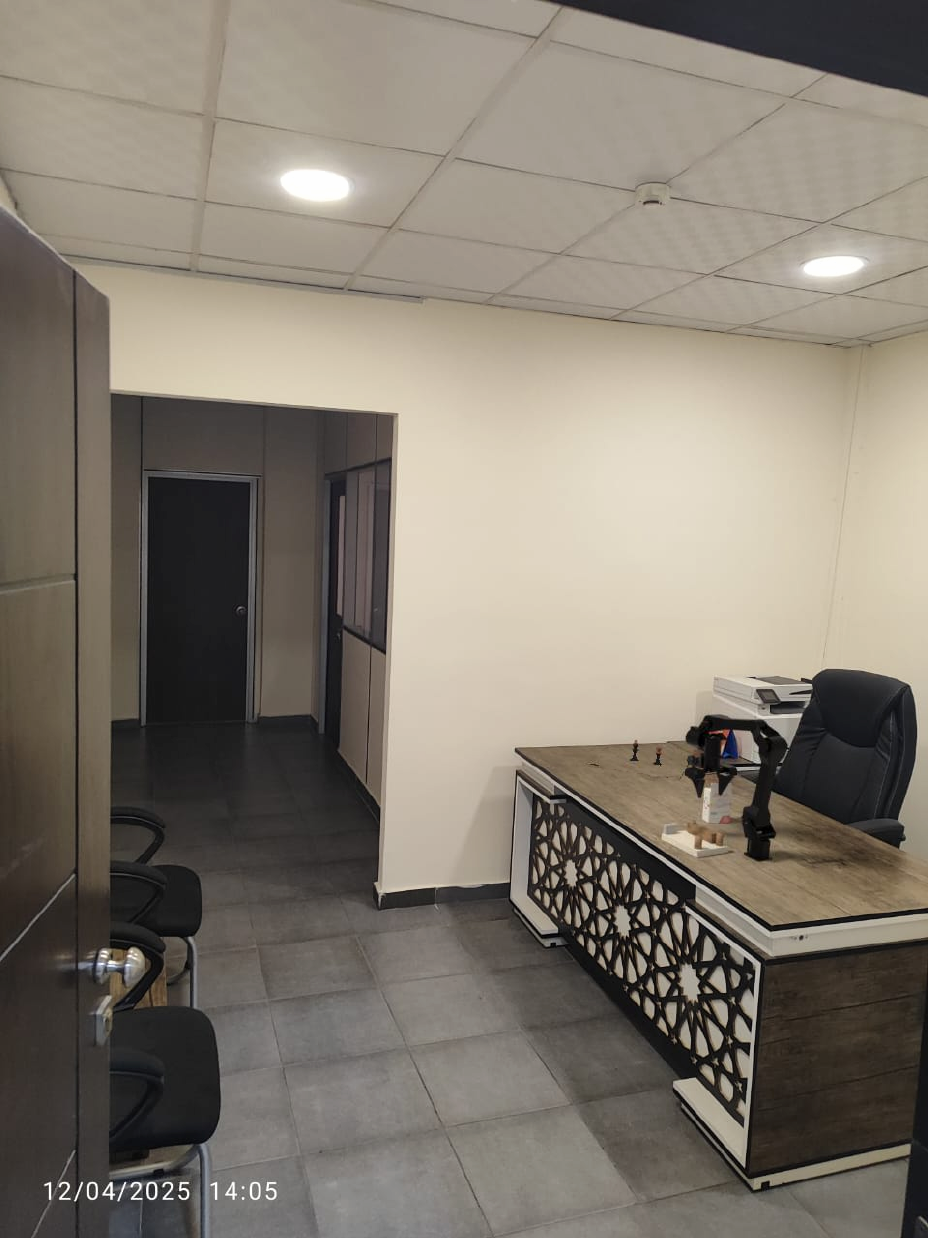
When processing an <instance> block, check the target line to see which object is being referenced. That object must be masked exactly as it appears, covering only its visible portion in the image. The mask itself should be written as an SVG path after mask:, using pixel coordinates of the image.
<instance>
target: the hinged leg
mask: <svg viewBox="0 0 928 1238" xmlns="http://www.w3.org/2000/svg"><path fill="white" fill-rule="evenodd" d="M696 822H697V821H696V820H694V819H690V822H687V826H686V827H687V829H686V830H687V832H689V833H691V834H693V835H700V836H702V839H703V840H705V841H708V842H710V843H716V836H717V832H716V831H713V830H711V829H709V828H707V827H706V826H705V827H704V826H703V825H700V824H698V823H696Z"/></svg>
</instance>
